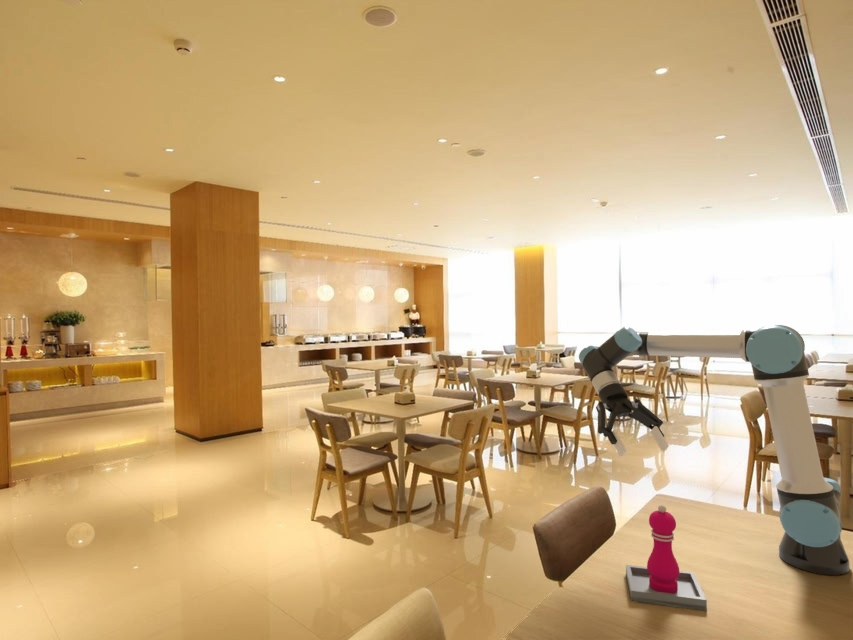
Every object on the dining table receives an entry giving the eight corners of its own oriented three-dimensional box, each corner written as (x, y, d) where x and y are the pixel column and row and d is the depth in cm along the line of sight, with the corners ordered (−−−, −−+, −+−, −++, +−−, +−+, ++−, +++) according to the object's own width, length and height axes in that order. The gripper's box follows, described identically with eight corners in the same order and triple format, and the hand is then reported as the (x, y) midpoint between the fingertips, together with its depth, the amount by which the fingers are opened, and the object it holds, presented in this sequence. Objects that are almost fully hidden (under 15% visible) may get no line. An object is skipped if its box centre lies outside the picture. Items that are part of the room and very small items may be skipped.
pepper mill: (683, 596, 119) (682, 511, 119) (650, 593, 121) (649, 509, 121) (675, 580, 126) (674, 500, 126) (644, 578, 128) (643, 499, 128)
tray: (694, 582, 128) (693, 572, 128) (706, 611, 115) (706, 600, 115) (625, 574, 132) (625, 564, 132) (631, 601, 120) (631, 590, 120)
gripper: (639, 394, 159) (675, 454, 145) (568, 399, 153) (599, 462, 138) (650, 379, 154) (689, 439, 140) (577, 384, 148) (610, 447, 133)
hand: (644, 451), depth 139 cm, fingers open, 13 cm apart
